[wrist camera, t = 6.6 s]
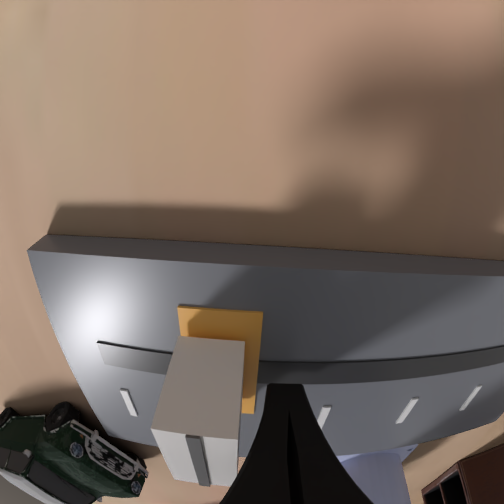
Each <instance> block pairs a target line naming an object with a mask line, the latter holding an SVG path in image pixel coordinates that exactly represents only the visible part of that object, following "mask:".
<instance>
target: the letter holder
mask: <svg viewBox="0 0 504 504" xmlns="http://www.w3.org/2000/svg"><path fill="white" fill-rule="evenodd" d="M421 491H422V496H423V501H424V504H504V444H501V445H499V446H497V447H494V448H492V449H489V450H487V451H484V452H482V453H479V454H477V455H474V456H471V457H468V458H466V459H463V460H460V461H458V462H456V463H455V464H454V465H453V466H452V467H450V468H449V469H448V470H447V471H446V472H444V473H443V474H442V475H441V476H439V477H438V478H437V479H435V480H434V481H433V482H431V483H430V484H429V485H427V486H426V487H425V488H423V489H422V490H421Z"/></svg>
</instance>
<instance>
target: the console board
mask: <svg viewBox="0 0 504 504" xmlns="http://www.w3.org/2000/svg"><path fill="white" fill-rule="evenodd" d="M27 252H28V256H29V260H30V263H31V267H32V270H33V273H34V277H35V280H36V283H37V286H38V289H39V292H40V295H41V298H42V301H43V304H44V306H45V309H46V312H47V314H48V317H49V320H50V322H51V325H52V327H53V330H54V332H55V335H56V337H57V339H58V342H59V344H60V346H61V348H62V351H63V353H64V355H65V357H66V359H67V362H68V364H69V366H70V368H71V370H72V372H73V374H74V376H75V378H76V380H77V382H78V384H79V386H80V388H81V390H82V391H83V393H84V395H85V397H86V399H87V401H88V402H89V404H90V406H91V408H92V409H93V411H94V413H95V414H96V416H97V418H98V420H99V421H100V423H101V424H102V426H103V428H104V429H105V431H106V432H107V434H108V436H112V437H116V438H120V439H124V440H128V441H133V442H137V443H142V444H146V445H151V446H156V447H158V444H157V442H156V440H155V438H154V435H153V433H152V431H151V425H152V422H153V418H154V415H155V411H156V408H157V404H158V401H159V397H160V394H161V391H162V387H163V384H164V381H165V377H166V374H167V371H168V368H169V364H170V361H171V358H172V355H173V351H174V348H175V345H176V342H177V339H178V336H186V337H197V338H208V339H220V340H234V341H245V352H244V374H243V396H242V415H241V430H240V444H239V457H247V455H248V453H249V451H250V448H251V446H252V443H253V441H254V438H255V436H256V433H257V431H258V427H259V424H260V421H261V418H262V415H263V409H264V402H265V395H266V388H267V385H268V384H269V383H286V384H302V385H303V386H304V389H305V392H306V395H307V398H308V401H309V403H310V406H311V408H312V411H313V413H314V415H315V418H316V420H317V422H318V424H319V426H320V428H321V430H322V432H323V434H324V436H325V438H326V440H327V441H328V443H329V445H330V447H331V448H332V450H333V452H334V453H335V455H336V456H341V455H351V454H360V453H368V452H375V451H382V450H388V449H394V448H399V447H405V446H410V445H414V444H419V443H424V442H428V441H432V440H436V439H440V438H444V437H448V436H451V435H455V434H458V433H461V432H465V431H468V430H471V429H474V428H477V427H480V426H483V425H486V424H489V423H492V422H494V421H496V420H497V419H498V418H499V417H500V416H501V414H502V413H503V412H504V261H496V260H482V259H468V258H453V257H439V256H424V255H409V254H393V253H378V252H362V251H346V250H329V249H313V248H296V247H279V246H261V245H244V244H226V243H207V242H188V241H169V240H150V239H130V238H109V237H88V236H67V235H45V236H44V237H42V238H41V239H40V240H39V241H37V242H36V243H35V244H34V245H32V246H31V247H30V248H29V249H28V250H27Z"/></svg>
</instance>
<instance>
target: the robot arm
mask: <svg viewBox="0 0 504 504" xmlns="http://www.w3.org/2000/svg"><path fill="white" fill-rule="evenodd" d="M417 446H418V444H414V445H410V446H405V447H399V448H394V449H388V450H382V451H375V452H368V453H360V454H351V455H341V456H336V455H335V453H334V452H333V450H332V448H331V447H330V445H329V443H328V441H327V440H326V438H325V436H324V434H323V432H322V430H321V428H320V426H319V424H318V422H317V420H316V418H315V415H314V413H313V411H312V408H311V406H310V403H309V401H308V398H307V395H306V392H305V389H304V386H303V385H302V384H286V383H269V384H268V385H267V388H266V395H265V402H264V409H263V415H262V418H261V421H260V424H259V427H258V431H257V433H256V436H255V438H254V441H253V443H252V446H251V448H250V451H249V453H248V455H247V457H246V459H245V461H244V463H243V465H242V467H241V469H240V471H239V473H238V475H237V477H236V478H235V480H234V482H233V483H232V485H231V487H230V489H229V490H228V492H227V493H226V495H225V496H224V498H223V499H222V501H221V502H220V504H411V502H410V497H409V492H408V488H407V484H406V479H405V475H404V471H403V467H402V463H401V462H402V461H403V460H404V459H405V458H406V457H407V456H408V455H409V454H410V453H411V452H412V451H413V450H414V449H415V448H416V447H417Z"/></svg>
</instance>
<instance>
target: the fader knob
mask: <svg viewBox="0 0 504 504" xmlns="http://www.w3.org/2000/svg"><path fill="white" fill-rule="evenodd" d="M244 352H245V341H234V340H220V339H208V338H197V337H186V336H178V339H177V342H176V345H175V348H174V351H173V355H172V358H171V361H170V364H169V368H168V371H167V374H166V377H165V381H164V384H163V387H162V391H161V394H160V397H159V401H158V404H157V408H156V411H155V415H154V418H153V422H152V425H151V431H152V433H153V435H154V438H155V440H156V442H157V444H158V447H159V449H160V451H161V453H162V455H163V457H164V459H165V461H166V464H167V466H168V468H169V470H170V472H171V474H172V476H173V478H174V479H175V480H181V481H187V482H194V483H199V485H201V486H209V487H210V484H211V485H221V486H231V485H232V483H233V482H234V480H235V478H236V477H237V473H238V459H239V444H240V430H241V415H242V396H243V374H244Z"/></svg>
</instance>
